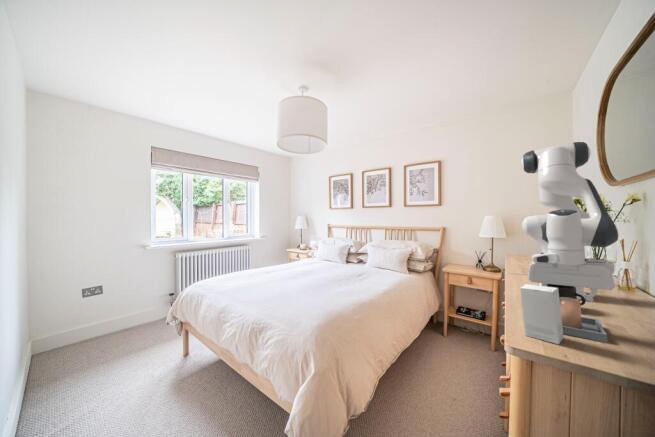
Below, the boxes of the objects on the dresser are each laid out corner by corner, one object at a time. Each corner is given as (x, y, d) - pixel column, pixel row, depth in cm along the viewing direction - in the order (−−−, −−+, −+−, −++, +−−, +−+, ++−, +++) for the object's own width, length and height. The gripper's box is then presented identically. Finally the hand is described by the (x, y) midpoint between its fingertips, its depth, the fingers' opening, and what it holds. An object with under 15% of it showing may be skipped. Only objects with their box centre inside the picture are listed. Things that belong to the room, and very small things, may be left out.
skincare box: (564, 338, 72) (560, 287, 73) (558, 345, 68) (555, 292, 69) (529, 329, 79) (526, 283, 79) (522, 335, 75) (519, 286, 76)
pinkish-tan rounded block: (559, 322, 82) (557, 296, 83) (581, 325, 79) (579, 298, 79) (560, 327, 78) (558, 300, 79) (583, 331, 75) (581, 303, 75)
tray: (542, 317, 88) (541, 310, 88) (598, 326, 79) (598, 319, 79) (542, 330, 78) (542, 322, 78) (607, 343, 69) (607, 334, 69)
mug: (581, 315, 88) (579, 291, 88) (541, 306, 99) (539, 285, 99) (591, 310, 92) (589, 287, 93) (551, 302, 103) (549, 281, 103)
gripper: (611, 258, 75) (614, 301, 75) (527, 254, 88) (529, 291, 88) (616, 261, 70) (619, 307, 70) (526, 257, 84) (529, 296, 84)
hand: (568, 298), depth 79 cm, fingers open, 8 cm apart
